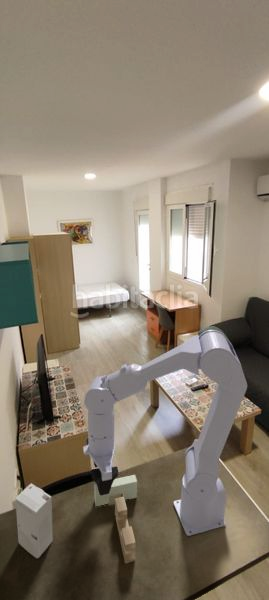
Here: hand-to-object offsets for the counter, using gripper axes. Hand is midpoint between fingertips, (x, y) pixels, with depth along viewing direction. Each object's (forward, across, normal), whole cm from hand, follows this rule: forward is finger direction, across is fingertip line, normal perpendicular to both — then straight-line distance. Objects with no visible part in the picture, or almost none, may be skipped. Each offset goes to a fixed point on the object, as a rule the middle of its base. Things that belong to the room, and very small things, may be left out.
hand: (101, 478), depth 68 cm
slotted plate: (+7, 0, +3) cm, 8 cm away
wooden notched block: (+7, +9, +3) cm, 12 cm away
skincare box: (+7, +6, -15) cm, 17 cm away
